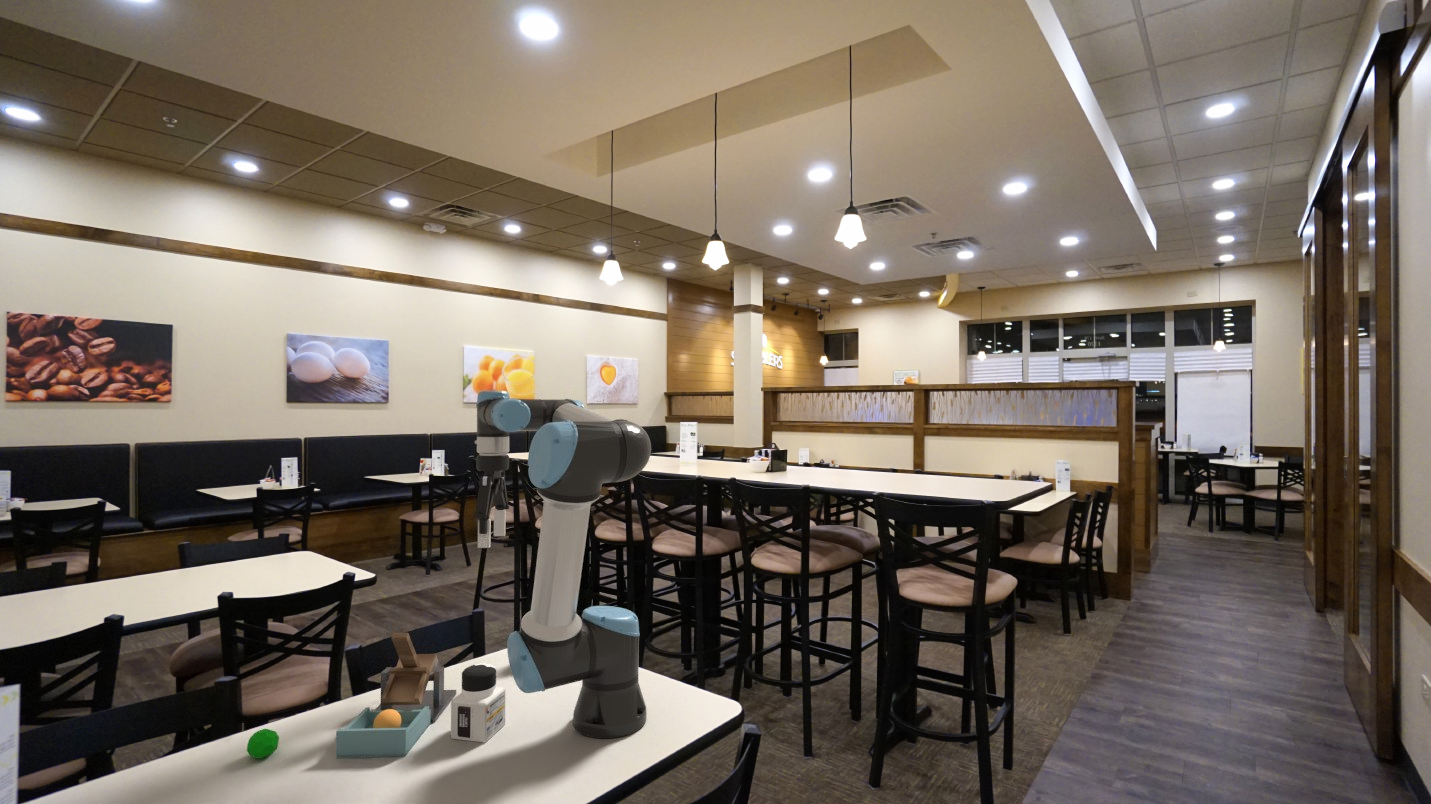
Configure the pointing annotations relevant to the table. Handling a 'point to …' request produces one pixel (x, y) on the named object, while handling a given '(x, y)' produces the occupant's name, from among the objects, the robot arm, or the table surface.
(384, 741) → the tray
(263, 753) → the polyhedron
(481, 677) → the container
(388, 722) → the ball
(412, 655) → the brown wooden catapult
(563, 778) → the table surface
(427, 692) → the stand
